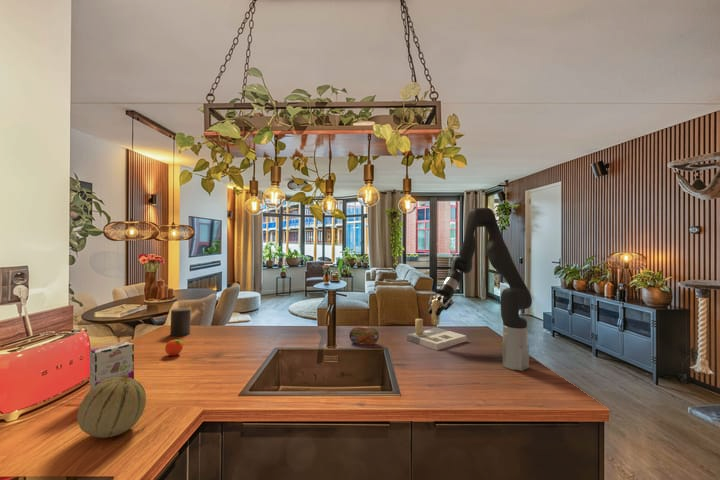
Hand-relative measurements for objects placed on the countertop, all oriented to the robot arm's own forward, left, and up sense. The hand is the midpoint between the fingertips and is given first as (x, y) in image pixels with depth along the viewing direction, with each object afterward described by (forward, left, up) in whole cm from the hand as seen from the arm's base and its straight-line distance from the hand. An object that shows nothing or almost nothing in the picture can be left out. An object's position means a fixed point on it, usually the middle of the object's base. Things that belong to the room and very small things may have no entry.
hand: (433, 314), depth 164 cm
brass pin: (0, -2, -5) cm, 6 cm away
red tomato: (+61, +105, -16) cm, 123 cm away
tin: (+24, +25, -16) cm, 38 cm away
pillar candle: (+97, +97, -16) cm, 138 cm away
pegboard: (+5, -9, -16) cm, 19 cm away
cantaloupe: (+3, +128, -16) cm, 129 cm away
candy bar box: (+30, +128, -16) cm, 133 cm away
